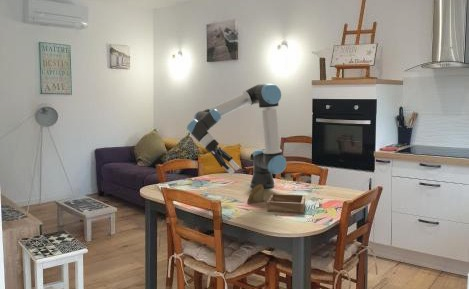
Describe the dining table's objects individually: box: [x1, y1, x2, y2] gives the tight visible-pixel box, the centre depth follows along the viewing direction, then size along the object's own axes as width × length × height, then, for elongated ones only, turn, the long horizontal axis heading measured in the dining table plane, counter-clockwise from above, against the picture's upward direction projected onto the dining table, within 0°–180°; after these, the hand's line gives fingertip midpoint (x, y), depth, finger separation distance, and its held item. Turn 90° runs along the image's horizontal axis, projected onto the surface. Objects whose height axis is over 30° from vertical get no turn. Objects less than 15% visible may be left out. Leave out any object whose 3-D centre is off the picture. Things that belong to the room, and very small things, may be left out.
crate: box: [266, 193, 306, 214], centre depth 221 cm, size 18×18×5 cm
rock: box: [247, 184, 265, 204], centre depth 234 cm, size 11×9×10 cm
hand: (235, 171), depth 235 cm, fingers open, 13 cm apart
